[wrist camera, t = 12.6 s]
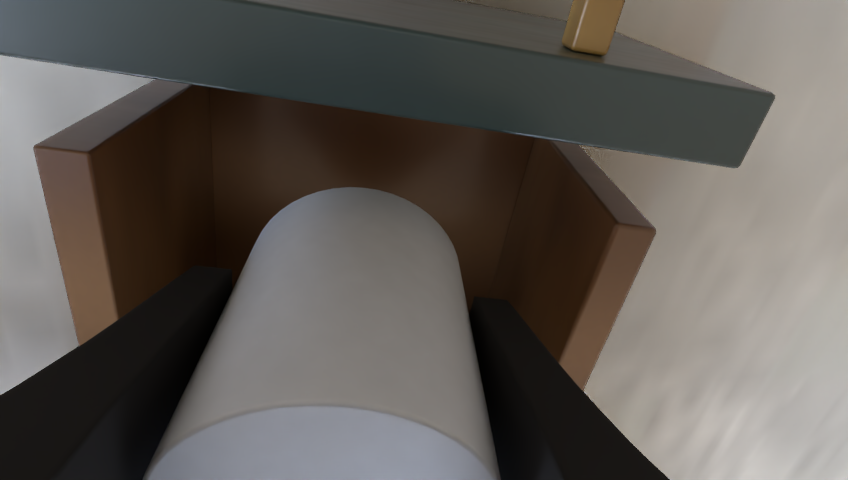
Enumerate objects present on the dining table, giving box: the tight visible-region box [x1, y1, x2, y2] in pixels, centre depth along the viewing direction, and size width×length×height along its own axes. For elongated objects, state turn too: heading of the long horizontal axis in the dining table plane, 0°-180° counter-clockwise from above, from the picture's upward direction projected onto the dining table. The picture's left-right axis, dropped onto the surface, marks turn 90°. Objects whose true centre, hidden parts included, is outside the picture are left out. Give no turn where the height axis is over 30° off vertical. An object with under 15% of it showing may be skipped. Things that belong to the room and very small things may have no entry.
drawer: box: [0, 0, 775, 391], centre depth 12 cm, size 18×11×7 cm, turn 170°
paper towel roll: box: [143, 187, 501, 480], centre depth 8 cm, size 4×4×5 cm
